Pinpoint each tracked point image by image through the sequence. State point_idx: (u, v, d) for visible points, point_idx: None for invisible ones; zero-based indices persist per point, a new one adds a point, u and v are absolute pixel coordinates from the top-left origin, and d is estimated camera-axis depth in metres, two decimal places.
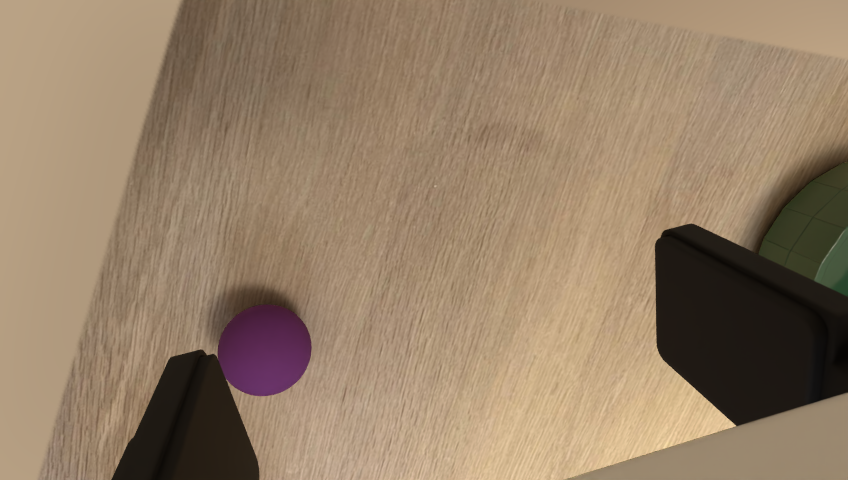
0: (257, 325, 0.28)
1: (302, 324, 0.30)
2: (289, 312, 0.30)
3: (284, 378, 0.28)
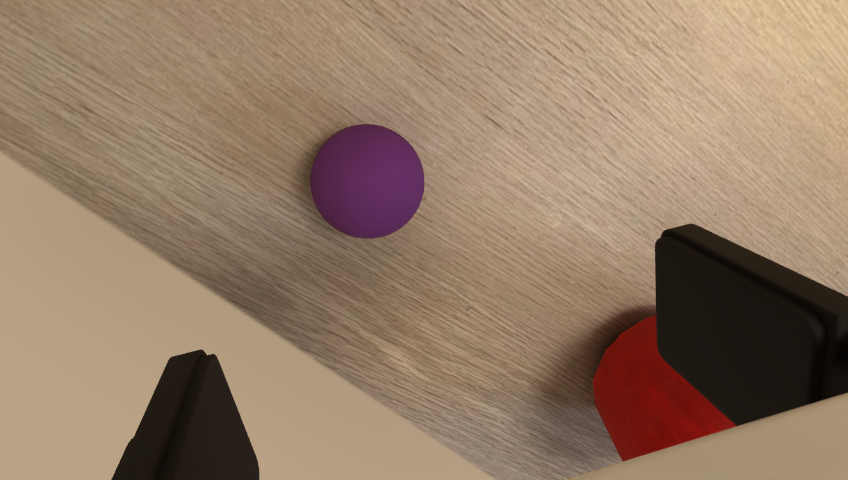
0: (319, 176, 0.22)
1: (353, 126, 0.23)
2: (333, 135, 0.23)
3: (395, 175, 0.21)
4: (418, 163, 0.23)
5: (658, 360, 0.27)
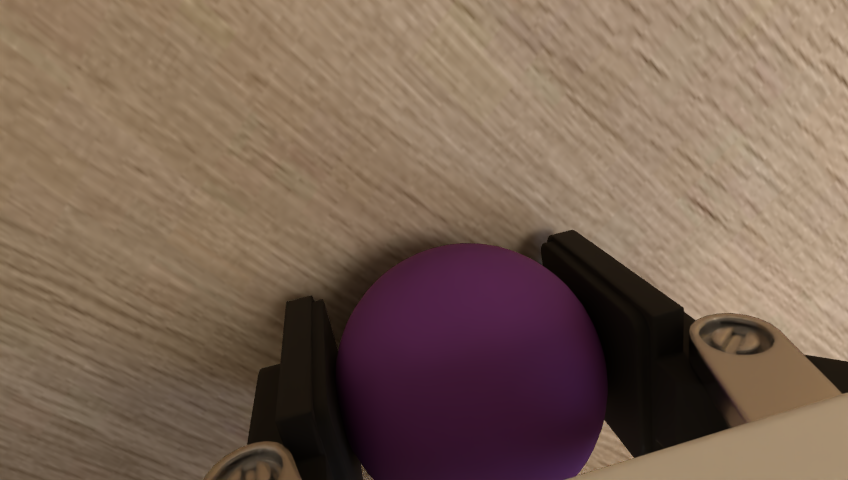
0: (362, 398, 0.08)
1: (442, 256, 0.09)
2: (391, 274, 0.09)
3: (566, 406, 0.08)
4: (601, 346, 0.09)
5: None
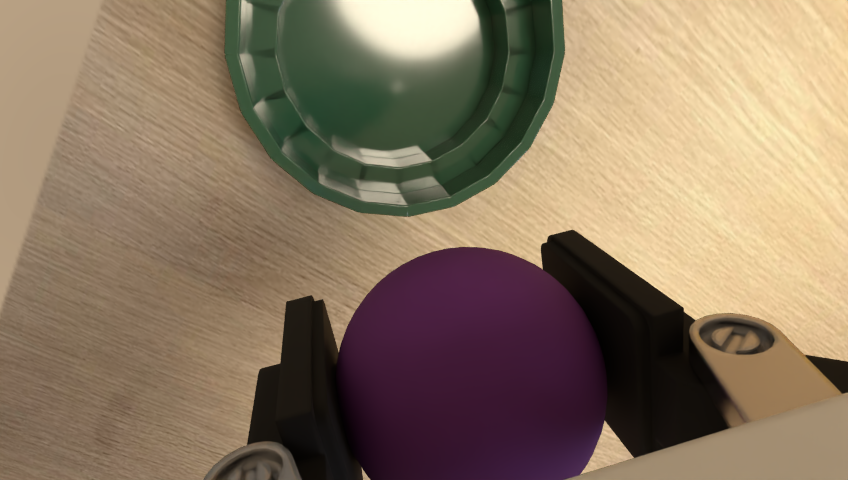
0: (362, 402, 0.08)
1: (442, 261, 0.09)
2: (392, 278, 0.09)
3: (566, 411, 0.08)
4: (600, 350, 0.09)
5: None
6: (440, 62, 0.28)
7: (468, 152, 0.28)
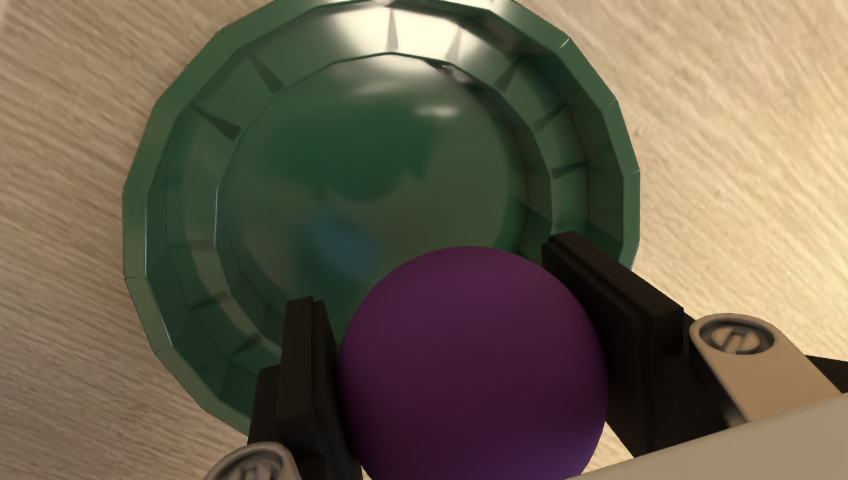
0: (362, 401, 0.08)
1: (443, 260, 0.09)
2: (392, 277, 0.09)
3: (567, 410, 0.08)
4: (601, 349, 0.09)
5: None
6: (454, 224, 0.21)
7: None
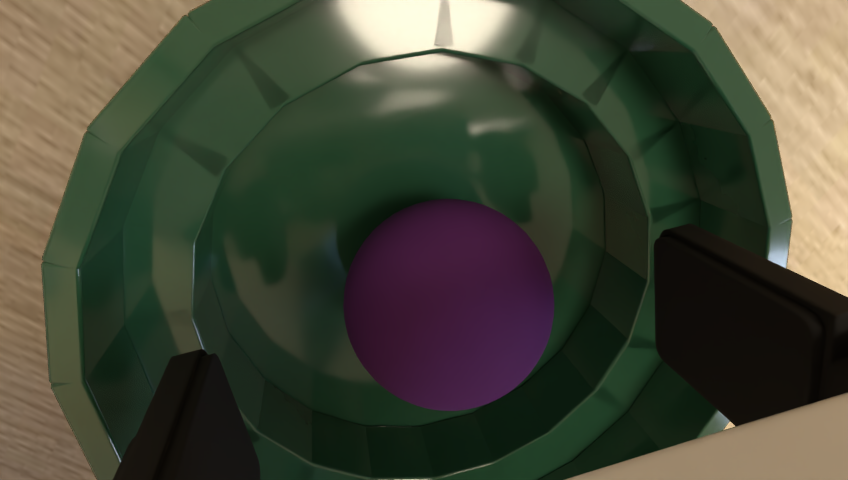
0: (371, 311, 0.11)
1: (426, 206, 0.12)
2: (386, 222, 0.12)
3: (524, 306, 0.11)
4: None
5: None
6: None
7: (559, 443, 0.15)
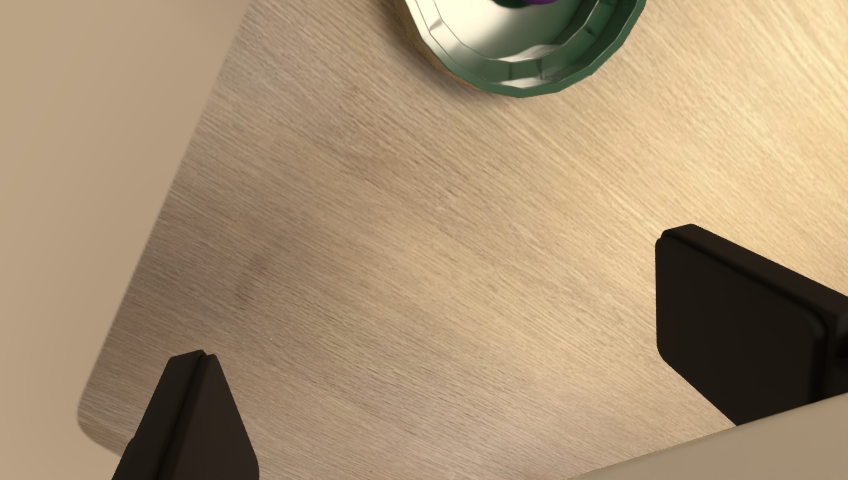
0: None
1: None
2: None
3: None
4: None
5: None
6: None
7: (567, 53, 0.34)
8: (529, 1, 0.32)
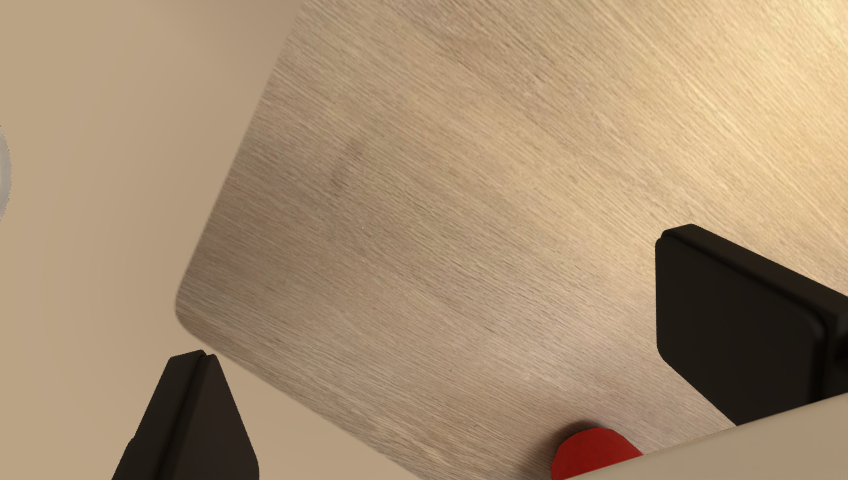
0: None
1: None
2: None
3: None
4: None
5: (583, 463, 0.47)
6: None
7: None
8: None
